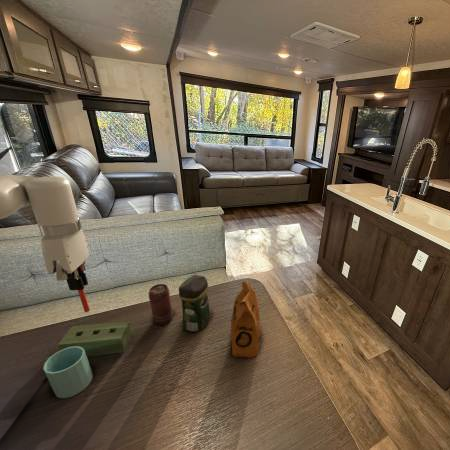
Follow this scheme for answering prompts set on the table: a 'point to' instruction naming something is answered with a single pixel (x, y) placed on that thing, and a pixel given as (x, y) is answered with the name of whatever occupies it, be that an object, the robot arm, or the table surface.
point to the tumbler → (68, 371)
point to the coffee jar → (195, 303)
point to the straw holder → (98, 338)
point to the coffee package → (245, 323)
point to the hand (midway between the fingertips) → (79, 287)
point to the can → (160, 304)
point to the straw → (84, 300)
